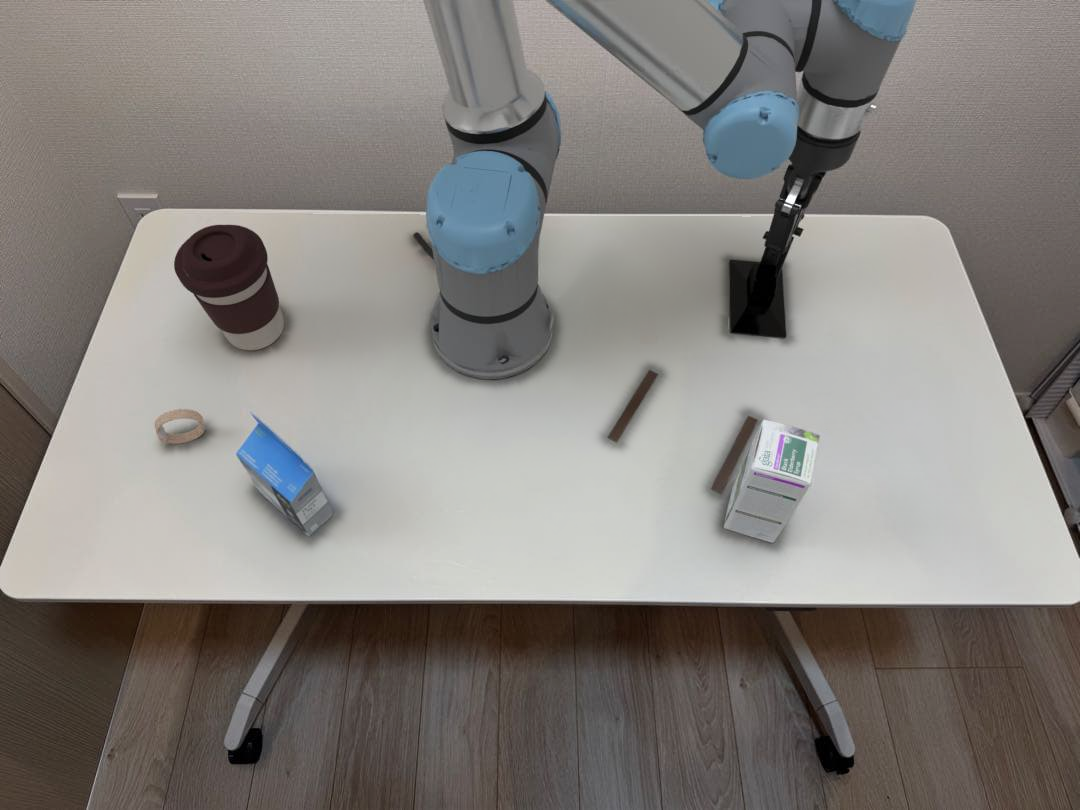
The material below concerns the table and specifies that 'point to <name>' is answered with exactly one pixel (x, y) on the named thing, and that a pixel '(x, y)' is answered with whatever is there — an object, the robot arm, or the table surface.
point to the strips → (731, 457)
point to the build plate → (756, 300)
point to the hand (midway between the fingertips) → (768, 272)
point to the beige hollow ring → (177, 414)
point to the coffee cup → (232, 283)
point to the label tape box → (284, 478)
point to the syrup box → (771, 480)
